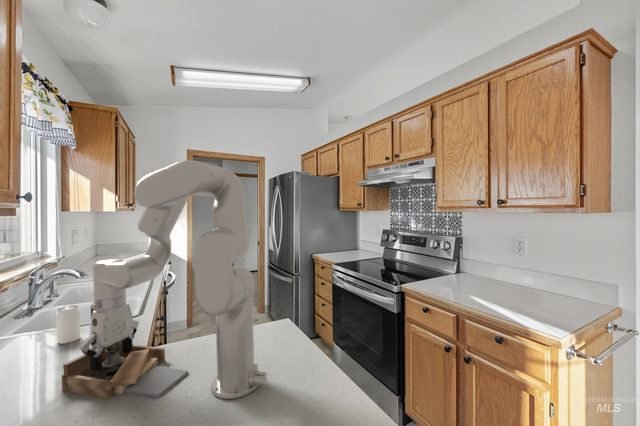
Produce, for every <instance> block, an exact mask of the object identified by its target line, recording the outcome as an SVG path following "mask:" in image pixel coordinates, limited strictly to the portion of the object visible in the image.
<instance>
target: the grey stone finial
mask: <svg viewBox="0 0 640 426" xmlns="http://www.w3.org/2000/svg"><path fill="white" fill-rule="evenodd" d="M119 348H120V346H119V345H118V342H117V343H115V344H113V345H111V346H109V347H107V349H106V350H105V352H106V354H107V358H106V360H105V361H104V362H102V369H103V371H102V372H105V373H103V374H102V376H101V377H102V379H103V380H112V379H113V377H114V376H115V374H116V373H117V371H118V370H119V368H120V367H121V365H122V364H123V362H124V361H125V360H126V358H125V357H122V356H120V355H119Z"/></svg>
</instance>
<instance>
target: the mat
mask: <svg viewBox="0 0 640 426" xmlns="http://www.w3.org/2000/svg"><path fill="white" fill-rule="evenodd" d="M188 374H189V370H185V369H180V368H178V369H177V368H172V367H164V366H160V365H159V366H158V365H156V366H155V367H154V368H153V369H151V370H150V371H149V372H147V373H146V374H144V375H143V376H142V377H140V378H139V379H138V380H137V381H136V383H135V384H130V385H128V386H127V387H125V388H124V392H123V393H128V394H129V393H130V394H134V395H140V396H146V397H152V398H156V399H159V398H160V397H161V396H162V395H164V394H165V393H166V392H168V391H169V390H170V389H171V388H172V387H174V386H176V384H177V383H178V382H180V381H181V380H182V379H184V378H185V377H186V376H187V375H188Z"/></svg>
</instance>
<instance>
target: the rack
mask: <svg viewBox="0 0 640 426" xmlns="http://www.w3.org/2000/svg"><path fill="white" fill-rule="evenodd" d="M122 341H123V340H121V341H119V342H118V345H119V346H120V348H119V355H120V356H122V357H125V359H126V358H127V357H128V355H129V354H130V353H123V347H122ZM132 346H133V351H139V350H146V349H149V353H150V357H149V358H157V362H158V363H161V364H162V363H165V361H166V355H165V354H166V352H165V351H166V350H165V348H163V347H157V346H156V347H155V346H148V345H142V344H141V345H140V344H133V343H132ZM106 349H107V347H106V348H103V350H102V351H101V353H100V355H99V356H102V362H104V361H105V360H106V358H107V354H106V352H105V350H106ZM96 350H97V348H96ZM96 350H95V352H96ZM62 366H63V374H61V390H62V391H66V392H72V393H77V394H81V395H86V396H90V397H91V396H92V397H96V398H102V399H107V400H110V399H111V398H113V397H114V395H113V394H114V393H113V391H112V381H110V379H103V378H97V377H96V378H95V376H97V375H98V374H101V373H102V372H104V371H103V369H102V370H100V371H95V370H91V365H90V357H88V356H87V355H85V354H82V355H80V356H78V357H76V358H73V359H72V360H70V361H68V362H66V363H63V364H62Z"/></svg>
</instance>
